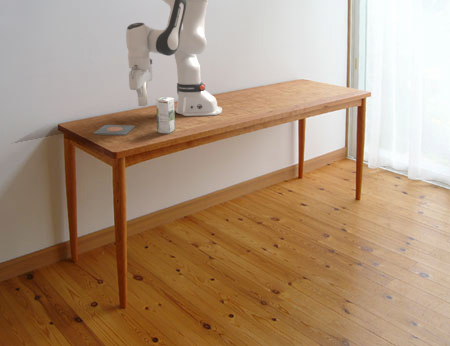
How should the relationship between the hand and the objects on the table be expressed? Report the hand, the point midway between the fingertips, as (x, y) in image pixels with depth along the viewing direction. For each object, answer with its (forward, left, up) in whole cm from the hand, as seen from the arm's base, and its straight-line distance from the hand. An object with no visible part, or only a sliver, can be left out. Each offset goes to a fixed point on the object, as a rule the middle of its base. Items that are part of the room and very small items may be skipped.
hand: (142, 95), depth 235 cm
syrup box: (-11, +3, -15) cm, 19 cm away
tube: (0, 0, -4) cm, 4 cm away
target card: (+12, +4, -15) cm, 20 cm away
